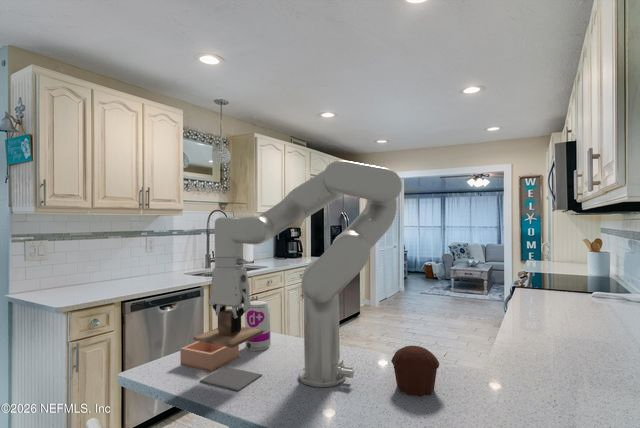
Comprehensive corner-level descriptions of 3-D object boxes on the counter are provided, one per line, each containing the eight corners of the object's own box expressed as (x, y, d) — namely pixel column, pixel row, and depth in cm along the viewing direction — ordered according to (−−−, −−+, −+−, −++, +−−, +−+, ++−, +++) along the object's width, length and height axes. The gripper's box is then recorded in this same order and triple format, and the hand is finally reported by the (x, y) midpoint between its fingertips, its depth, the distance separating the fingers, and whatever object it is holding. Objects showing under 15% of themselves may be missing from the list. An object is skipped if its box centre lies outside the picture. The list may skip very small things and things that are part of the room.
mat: (262, 375, 102) (262, 374, 102) (238, 391, 93) (238, 389, 93) (225, 367, 108) (225, 366, 108) (199, 381, 99) (199, 380, 99)
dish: (238, 357, 116) (238, 341, 116) (211, 372, 105) (211, 354, 105) (209, 351, 121) (209, 336, 121) (180, 365, 110) (180, 348, 110)
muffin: (384, 391, 92) (383, 350, 92) (401, 374, 101) (400, 337, 101) (432, 404, 85) (431, 360, 85) (445, 385, 94) (445, 345, 94)
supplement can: (265, 352, 120) (264, 305, 120) (241, 350, 121) (240, 304, 122) (273, 343, 128) (273, 300, 128) (251, 342, 129) (250, 299, 129)
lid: (263, 333, 103) (263, 308, 103) (232, 347, 92) (232, 320, 92) (226, 327, 109) (226, 303, 109) (193, 340, 98) (193, 314, 98)
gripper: (262, 262, 100) (263, 330, 100) (215, 259, 108) (215, 323, 108) (245, 266, 94) (245, 339, 93) (195, 262, 101) (196, 330, 101)
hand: (229, 329), depth 101 cm, fingers closed on lid, 4 cm apart
